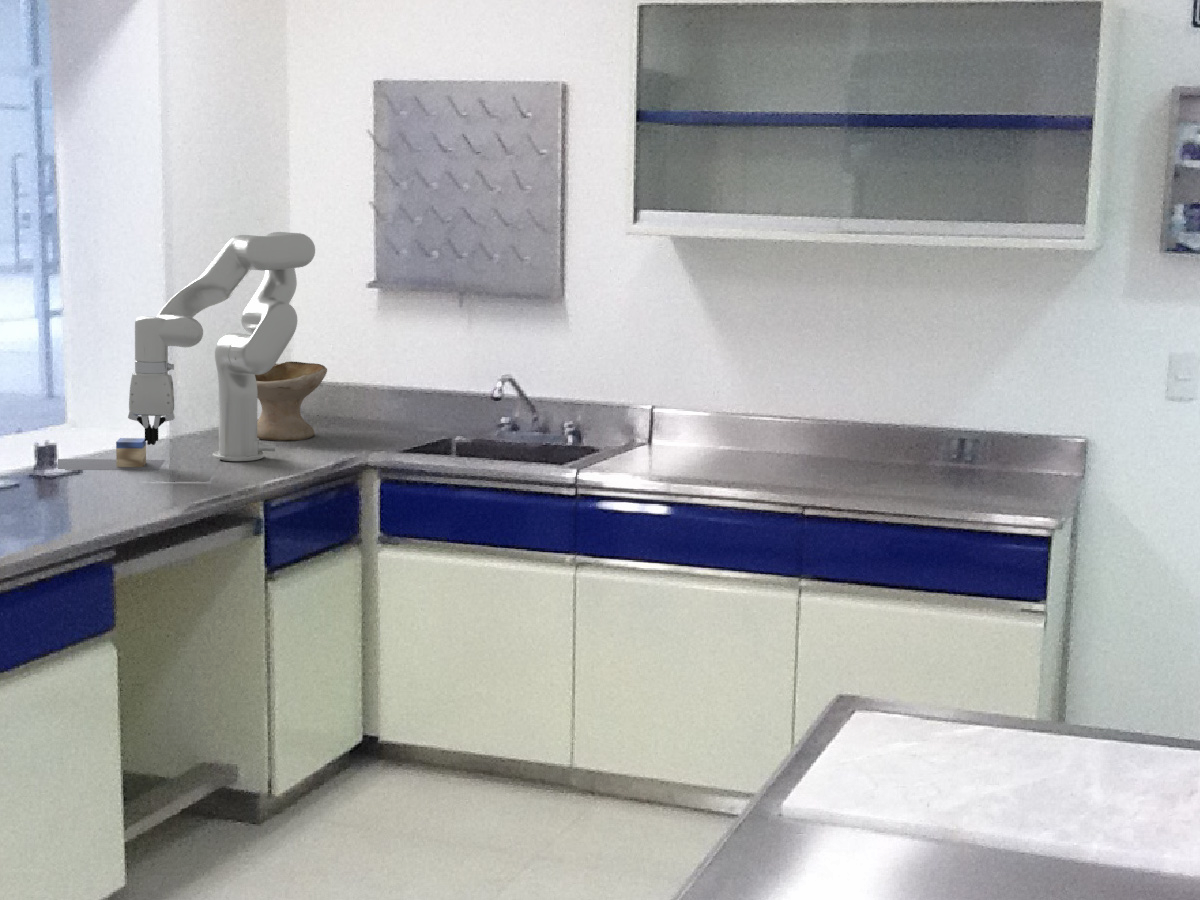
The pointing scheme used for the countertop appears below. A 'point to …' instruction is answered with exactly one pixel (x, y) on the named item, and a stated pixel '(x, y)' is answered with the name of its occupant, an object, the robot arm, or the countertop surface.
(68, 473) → the countertop surface
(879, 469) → the countertop surface
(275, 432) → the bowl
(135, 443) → the cube
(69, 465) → the mat
